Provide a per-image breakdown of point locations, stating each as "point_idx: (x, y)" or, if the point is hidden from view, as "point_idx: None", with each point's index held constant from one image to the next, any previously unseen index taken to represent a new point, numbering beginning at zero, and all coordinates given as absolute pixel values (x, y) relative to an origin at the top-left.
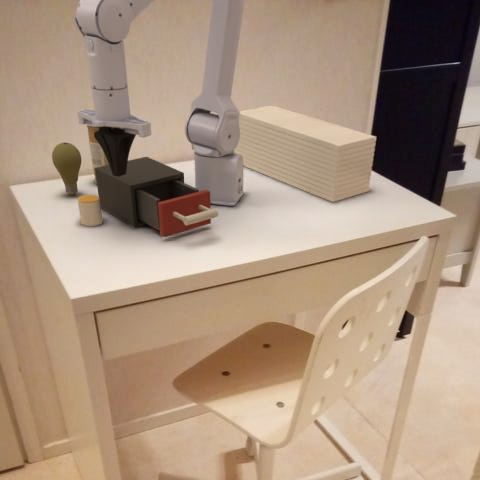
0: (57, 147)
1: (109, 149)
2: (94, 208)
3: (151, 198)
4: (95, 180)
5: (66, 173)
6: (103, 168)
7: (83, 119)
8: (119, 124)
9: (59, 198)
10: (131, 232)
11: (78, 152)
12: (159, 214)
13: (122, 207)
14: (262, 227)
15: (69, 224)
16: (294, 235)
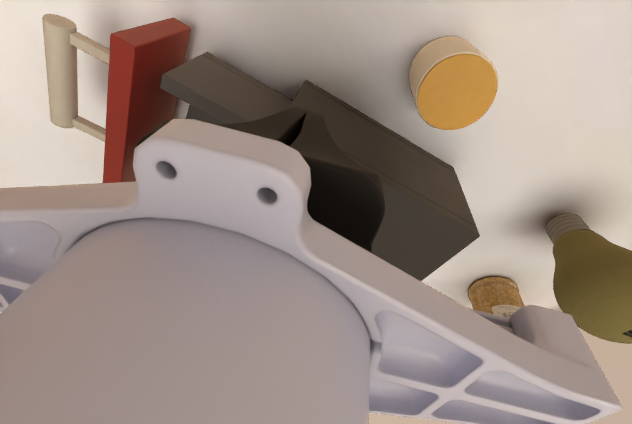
0: None
1: (278, 137)
2: (423, 66)
3: (193, 89)
4: (514, 286)
5: (594, 245)
6: (446, 237)
7: (533, 337)
8: (23, 202)
9: (595, 193)
10: (298, 47)
11: (571, 312)
12: (150, 34)
13: (350, 122)
14: (90, 178)
15: (513, 25)
16: (23, 163)
